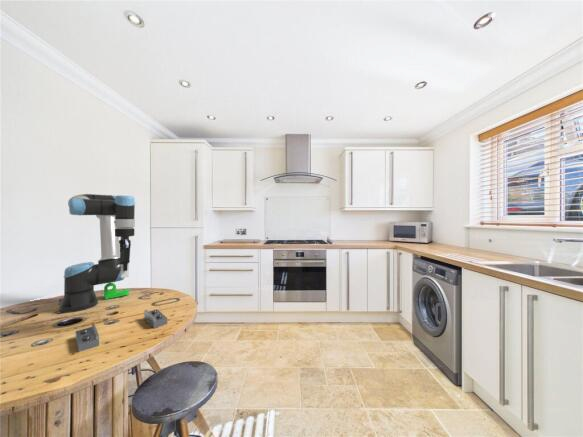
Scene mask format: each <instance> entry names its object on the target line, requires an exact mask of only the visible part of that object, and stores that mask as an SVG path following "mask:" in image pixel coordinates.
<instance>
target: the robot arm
mask: <svg viewBox="0 0 583 437" xmlns="http://www.w3.org/2000/svg"><path fill="white" fill-rule="evenodd" d="M67 205H68V211H69V214H70V215H72V216H95V217H96V218H97V219H99V232H100V233H99V234H100V236H99V237H100V256H101V257H100V259H99V260H97V263H96V264H95V263H94V262H92V261H89V262H82V263H76V264H73V265H70V266H68V267H66V268H65V269H64V274H63V275H64V276H63V279H64V280H63V281H64V282H63V283H64V284H63V286H64V288H63V289H64V293H63V294H64V295H63V298H62V300H61V302H60V304H59V310H58V311H59V312H60V313H75V312H79V311H86V310H87V309H91V308H93V307H95V306H97V305H98V304H99V299H98V297H97V294H96V292H95V289H94V288H95V286H97V285H99V286H100V285H103V284H105V285H106V284H108V283H116V282H120V281H123V280H124V279H125V278H129V263H130V258H131V245H132V241H131V239H130V237H134V236H135V228H134V227H136V226H135V223H136V222H135V221H136V220H135V210H136V209H135V208H136V206H135V205H136V202H135V197H134V196H133V195H132V196H131V195H112V194H93V193H84V194H77V195H74V196H72V197H70V198H69V199H68V203H67Z"/></svg>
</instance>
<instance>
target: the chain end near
mask: <svg viewBox="0 0 583 437" xmlns="http://www.w3.org/2000/svg"><path fill="white" fill-rule="evenodd" d="M75 341H76V345H77V346H76V347H77V350H78V352H79V353H80V352H83V351H86V350H90V349H92V348H95V347H99V346H100V335H99V332H98V330H97V328H96V325H95V323H91V327H89V326H88V327H87V328H82V329H79V330H76V331H75Z"/></svg>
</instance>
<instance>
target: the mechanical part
mask: <svg viewBox="0 0 583 437" xmlns="http://www.w3.org/2000/svg"><path fill="white" fill-rule="evenodd" d="M109 287H112V288H111V289H108V288H109ZM129 294H130V289H129V288H127V289H121V290H117V286H116V284H115V282H111V283H105V285H104V287H103V297H104V299H105V300H108V299H113V298H114V299H115V298H119V297H123V296H124V297H125V296H127V295H129Z"/></svg>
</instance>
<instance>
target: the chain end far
mask: <svg viewBox="0 0 583 437" xmlns="http://www.w3.org/2000/svg"><path fill="white" fill-rule="evenodd" d="M143 313H144V314H143V319H144V320H145V321H146V323H148V324H149V325H150V326H151V327H152V328H153V329H155V328H159V327H162V326H165V325H168V317H167V316H166V315H164V313H163V312H161V311H160V310H159V309H157V308H156V309H152V310H149V311H148V310H147V309H144V310H143Z"/></svg>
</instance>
